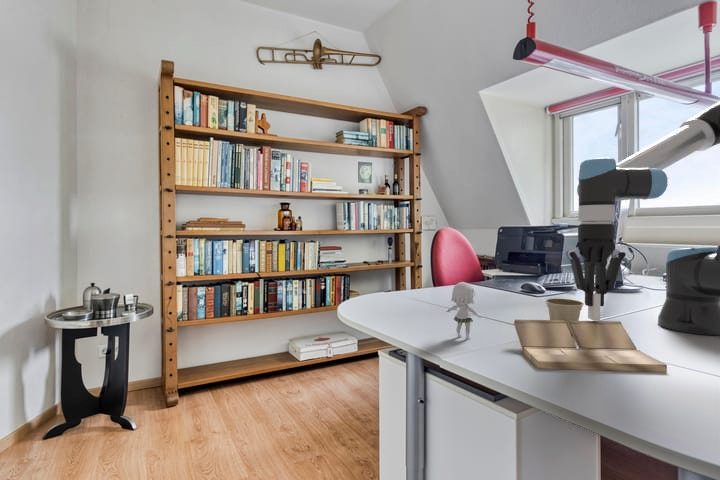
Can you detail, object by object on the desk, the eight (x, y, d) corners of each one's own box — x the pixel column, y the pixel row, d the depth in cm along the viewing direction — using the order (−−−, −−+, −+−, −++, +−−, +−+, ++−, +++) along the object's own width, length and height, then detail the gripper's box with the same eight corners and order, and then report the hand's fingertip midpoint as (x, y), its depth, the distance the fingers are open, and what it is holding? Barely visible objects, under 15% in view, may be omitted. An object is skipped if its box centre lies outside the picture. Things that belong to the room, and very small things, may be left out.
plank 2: (580, 351, 87) (582, 347, 86) (567, 324, 93) (569, 320, 92) (634, 352, 86) (636, 348, 85) (618, 325, 92) (620, 321, 91)
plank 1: (522, 349, 88) (523, 345, 87) (513, 323, 95) (514, 319, 94) (574, 351, 87) (576, 347, 86) (562, 324, 93) (564, 320, 92)
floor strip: (638, 356, 85) (638, 349, 85) (666, 372, 76) (666, 364, 76) (523, 353, 87) (523, 347, 87) (538, 368, 78) (538, 360, 78)
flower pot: (589, 338, 99) (589, 305, 98) (550, 336, 101) (550, 304, 100) (576, 328, 108) (576, 298, 108) (541, 327, 110) (541, 297, 110)
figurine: (486, 339, 98) (486, 282, 97) (475, 345, 93) (476, 285, 93) (450, 332, 105) (450, 279, 104) (439, 337, 100) (439, 281, 100)
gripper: (615, 223, 94) (613, 316, 95) (561, 223, 95) (559, 315, 96) (634, 223, 87) (631, 323, 88) (575, 223, 88) (573, 322, 89)
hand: (593, 319), depth 92 cm, fingers closed
